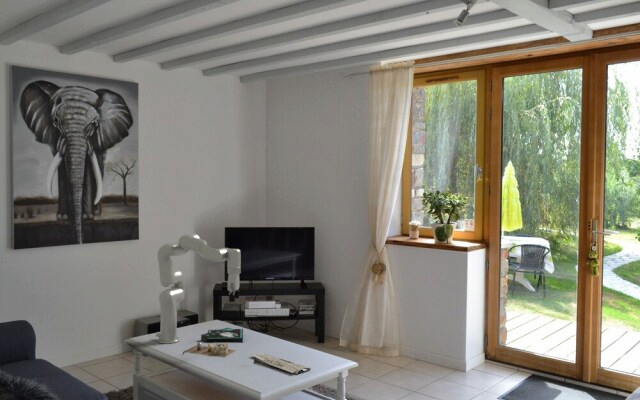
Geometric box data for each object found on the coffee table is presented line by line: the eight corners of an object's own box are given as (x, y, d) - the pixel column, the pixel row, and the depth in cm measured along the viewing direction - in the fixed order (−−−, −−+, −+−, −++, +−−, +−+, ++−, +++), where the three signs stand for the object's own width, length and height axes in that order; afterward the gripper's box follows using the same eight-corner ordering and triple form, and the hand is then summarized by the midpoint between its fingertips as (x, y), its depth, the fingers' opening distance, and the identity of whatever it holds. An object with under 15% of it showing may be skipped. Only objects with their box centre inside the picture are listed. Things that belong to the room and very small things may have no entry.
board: (182, 354, 326) (183, 345, 326) (196, 347, 339) (196, 338, 339) (224, 360, 317) (224, 350, 317) (236, 352, 330) (236, 343, 330)
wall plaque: (190, 341, 354) (224, 350, 336) (190, 334, 354) (224, 343, 336) (226, 331, 378) (259, 339, 360) (226, 325, 378) (259, 333, 360)
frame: (213, 354, 322) (213, 347, 322) (215, 350, 329) (215, 343, 329) (226, 354, 322) (226, 347, 322) (227, 350, 329) (227, 343, 329)
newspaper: (310, 371, 303) (310, 364, 303) (294, 376, 294) (294, 370, 293) (264, 356, 326) (264, 350, 326) (247, 361, 317) (247, 355, 317)
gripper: (231, 268, 343) (231, 296, 344) (223, 272, 326) (223, 302, 326) (243, 268, 342) (243, 297, 343) (236, 272, 325) (236, 303, 326)
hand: (234, 299), depth 335 cm, fingers open, 9 cm apart
